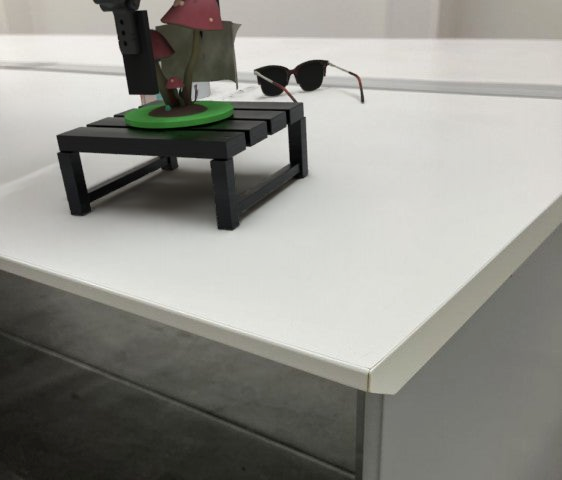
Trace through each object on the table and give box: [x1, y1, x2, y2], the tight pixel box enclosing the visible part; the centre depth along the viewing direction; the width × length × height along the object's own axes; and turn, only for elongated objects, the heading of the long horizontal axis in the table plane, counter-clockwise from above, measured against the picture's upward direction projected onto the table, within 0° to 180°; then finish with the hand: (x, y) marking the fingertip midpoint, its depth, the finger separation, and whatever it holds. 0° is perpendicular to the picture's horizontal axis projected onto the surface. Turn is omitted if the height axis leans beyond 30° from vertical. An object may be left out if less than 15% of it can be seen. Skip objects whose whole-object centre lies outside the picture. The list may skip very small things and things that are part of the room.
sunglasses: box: [253, 59, 365, 104], centre depth 110 cm, size 14×16×5 cm
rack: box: [55, 100, 309, 231], centre depth 69 cm, size 18×18×8 cm
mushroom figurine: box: [124, 0, 242, 128], centre depth 63 cm, size 12×13×15 cm
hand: (180, 82), depth 65 cm, fingers closed on mushroom figurine, 12 cm apart
